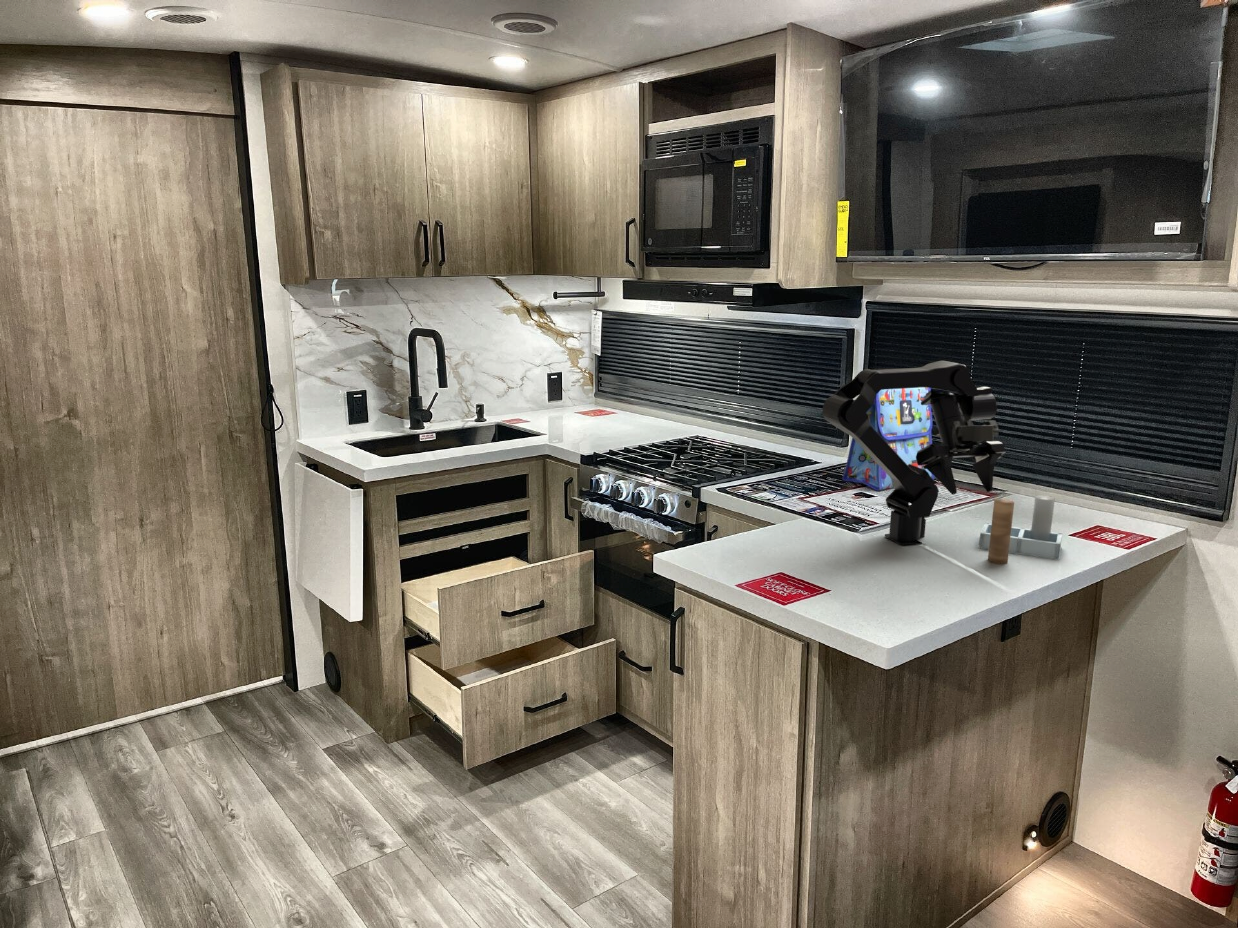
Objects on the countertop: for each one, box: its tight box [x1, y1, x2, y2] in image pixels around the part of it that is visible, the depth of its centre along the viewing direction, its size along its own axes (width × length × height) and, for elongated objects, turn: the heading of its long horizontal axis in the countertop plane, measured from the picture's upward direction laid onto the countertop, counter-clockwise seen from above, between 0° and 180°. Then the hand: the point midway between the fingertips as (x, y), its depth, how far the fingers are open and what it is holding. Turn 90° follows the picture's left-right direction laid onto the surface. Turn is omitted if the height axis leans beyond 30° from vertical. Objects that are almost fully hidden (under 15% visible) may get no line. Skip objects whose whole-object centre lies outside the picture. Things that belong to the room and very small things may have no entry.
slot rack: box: [977, 522, 1063, 561], centre depth 183 cm, size 15×9×4 cm, turn 62°
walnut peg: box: [987, 498, 1015, 565], centre depth 174 cm, size 4×4×13 cm
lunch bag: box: [842, 387, 936, 491], centre depth 236 cm, size 22×14×29 cm, turn 122°
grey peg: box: [1030, 495, 1056, 542], centre depth 181 cm, size 4×4×11 cm
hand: (972, 492), depth 180 cm, fingers open, 9 cm apart
